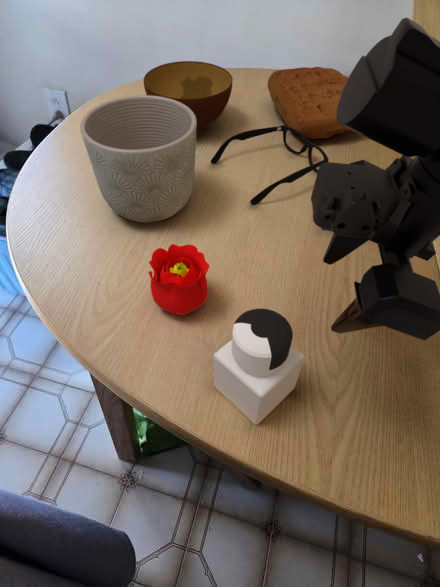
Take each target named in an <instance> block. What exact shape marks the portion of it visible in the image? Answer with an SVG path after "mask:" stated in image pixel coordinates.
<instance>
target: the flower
mask: <svg viewBox="0 0 440 587" xmlns="http://www.w3.org/2000/svg"><path fill="white" fill-rule="evenodd" d="M148 264H149V265H150V267H151V269H152V270H153V271H152V270H149V271H148V275H149V277H150V292H151V296H152V299H153V302H154V303H155V304H156V305H157V306H158V307H159V308H161V309H162V310H164V311H166V312H167V313H171V314H173V315H180V316H185V315H187V314H190V313H191V312H193V311H195V310H196V309H198V308H200V307H201V306H202V305H203V304H204V303H205V302H206V301H207V298H208V296H209V285H208V280H207V273H208V271H209V269H210V264H209V263H208V262H207V260H206V257H205V254H204V253H203V252H201V251H199V250H198V247H197V246H196V245H194V244H184V245H177V244H175V243H172V244H170V245H169V247H168V249H167V250H166V249H164V248H162V247H157V249H155V250H154V251H153V252H152V254H151V259H150V260H149V261H148Z"/></svg>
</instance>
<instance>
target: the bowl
mask: <svg viewBox="0 0 440 587" xmlns="http://www.w3.org/2000/svg"><path fill="white" fill-rule="evenodd" d="M143 89H144V91H145V94H146V95H150V96H160V97H165V98H169V99H173V100H176V101H178V102H180V103H182V104H184V105H186V106H187V107H189V108H190V109H191V110H192V111H193V113H194V114H195V116H196V120H197V127H196V134H197V133H201V132H202V131H203V130H204V129H205V128H206V127H207V126H209V125H211V124H212V123H213V122H215V121H216V120H217V119H218V118H219V117H220V116H221V115H222V113H223V112H224V110H225V109H226V107H227V105H228V103H229V100H230V98H231V94H232V90H233V76H232V74H231V73H230V72H229V71H228V70H227V69H225V68H224V67H221V66H219V65H216V64H213V63H210V62H206V61H205V62H204V61H197V60H196V61H195V60H184V61H183V60H181V61H173V62H167V63H163V64H160V65H158V66H155V67H154V68H152V69H150V70H149V71H148V72H146V73H145V75H144V77H143Z"/></svg>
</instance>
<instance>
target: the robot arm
mask: <svg viewBox="0 0 440 587" xmlns="http://www.w3.org/2000/svg"><path fill="white" fill-rule="evenodd" d="M336 118H337V122H338V123H339V124H340V125H342V126H344V127H346V128H348V129H350V130H352V131H353V132H354V133H357V134H359V135H361V136H363V137H365V138H367V139H368V140H371V141H373V142H375V143H377V144H379V145H381V146H383V147H385V148H387V149H389V150H392V151H394V152H396V153H398V154H400V155H401V157H396V158H395V159H394V160H393V161H392V162H391V164H389V165H388V167H386V168H385V169H384V168H382V167H380V166H378V165H376V164H374V163H372V162H369V161H367V160H365V159H360V160H356V161H353V162H350V163H343V162H333V161H331V162H330V161H328V162H325V163H322V164H321V165H320V166H319V167H318V168H317V169H318V172H316V178H315V181H314V186H313V188H312V193H311V196H310V202H311V207H312V221H313V223H314V224H315V226H317V227H318V228H324V229H332V231H331V232H332V233H333V234H332V236H331V239H330V240H329V242H328V246H327V248H326V250H325V253H324V255H323V258H322V262H323V263H324V264H326V265H330V266H331V265H333V264H335V263H337V262H339V261H341V260H342V259H344V258H345V257H347V256H348V255H350V254H351V253H353V252H354V251H355V250H357V249H358V248H360V247H362V246H363V245H364V244H365V243H367V242H368V241H370V242H372V243H374V244H377V248H378V252H379V256H380V260H381V263H380V264H376V265H375V264H374V265H372V266H371V267H370V268H369V269H368V270H366V271H365V273H363V275H362V277H361V280H360V282H359V281H354V282H353V286H354V287H353V288H354V292H355V298H354V299H353V300H352V302H351V303H350V304H349V305H348V306H347V307H346V308H345V309H344V310H343V311H342V312H341V313H340V314H339V316H337V318H336V319H335V320H334V322H333V323H332V324H331V326H330V331H331V332H333V333H336V334H345V333H351V332H358V331H363V330H367V329H374V328H381V327H385V328H388V329H391V330H394V331H397V332H400V333H401V334H404V335H407V336H410V337H413V338H416V339H419V340H422V341H424V342H425V341H427V340H429V339H430V338H432V337H433V336H435V335H436V334H438V333H439V332H440V291H439V290H440V289H439V288H438V284H437V282H436V280H434V279H432V278H429V277H426V276H425V275H423V274H419V273H416V272H415V271H414V268H413V265H412V261H411V259H413V258H414V257H417V258H418V259H422V260H424V261H425V262H428V261H429V260H430V259H431V258H433V257H434V256H435V255H436V254H437V252H436V249H435V246H434V241H436V240H437V239H438V238H439V237H440V40H438V39H436V38H435V37H433V36H431V35H430V34H429V33H428V31H426V29H425V28H424V27H423V26H422V25H420V24H419V23H417V22H416V21H414V20H412V19H411V18H409V17H404V18H402V19H400V21H399V23H398V24H397V26H396V27H395V28H394V30H393V32H392V33H391V35H388V36H385V37H383V38H382V39H380V40H379V41H378V42H376V44H375V45H374V46H373V47H371V49H369V51H368V52H367V54H366V55H362V56H360V58H359V59H358V61H357V62H356V64H355V65H354V67H353V69H352V71H351V73H350V74H349V76H348V80H347V82H346V84H345V86H344V89H343V91H342V94H341V96H340V99H339V103H338V107H337V115H336Z"/></svg>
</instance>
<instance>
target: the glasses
mask: <svg viewBox="0 0 440 587" xmlns="http://www.w3.org/2000/svg"><path fill="white" fill-rule="evenodd" d="M288 131H290V132H292V133H294V134H295V135H297V136H299V137H301V139H302V141H304V144H303V145H302V147H301V148H300V150H299V151H298V150H295V149H293V148H292V147H290V146H289V144H288V143H287V133H288ZM275 132H282V143H283V145H284V147H285V148H286V149H287V150H289V151H290V152H291V153H293V154H294V155H295V154H296V155H302V154H303V153H306V151H307V158H308V160H307V161H308V163H309V166H306V167H303V168H301V169H298V170H297V171H295V172H292V173H291V174H289V175H287V176H285V177H283V178H281V179H279V180H277V181H275V182H273V183H272V184H269V185H268V186H267V187H265V188H264V189H263V190H261V191H260V192H258V193H257V194H256V195H255V196H253V197H252V198H251V199H250V201H249V203H250V204H251V205H257V204H259V203H261V202H263V200H264V199H265V198H266V197H268V195H270V193H272V192H273V190H274V189H276V188H277V187H278V186H280V185H282V184H291V183H293V182H295V181H297V180H299V179H300V178H302V177H304V176H305V175H307V174H309V173H310V172H313V171H314V172H315V173H318V169H319V166H320V165H321V164H322V163H325V162H330V160H329V157H328V155H327V154H326V152H325V151H324V149H323V148H321V147H320V146H319V145H317V144H315V143H312V142H311V141H310V140H309V138H308V137H305V136H304V135H303V134H301V133H300V132H298V131H297V130H295V129H293V128H290V127H289V126H288V125H284V124H282V125H279V126H270V127H269V126H268V127H262V128H256V129H251V130H246V131H243V132H239V133H237V134H234V135H233V136H231V137H229V138H227V139H226V140H225V141H224V142H223V143H222V144H221V146H220V147H219V148H218V149H217V151H216V152H215V153H214V155H213V157H212V158H211V160H210V164H212V165H215V164H217V163H218V162H219V161H220V159H221V157H222V155H224V152H225V151H226V149H227V147H228V146H229V144H231V142H233V141H245V140H248V139H252V138H255V137H259V136H263V135H267V134H271V133H275ZM314 148H315V149H316V150H317V151H318V152H319V153H320V154H321V156H322V157H323V159H321V160H320V161H318V162H315V163H313V159H312V158H313V150H314Z"/></svg>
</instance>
